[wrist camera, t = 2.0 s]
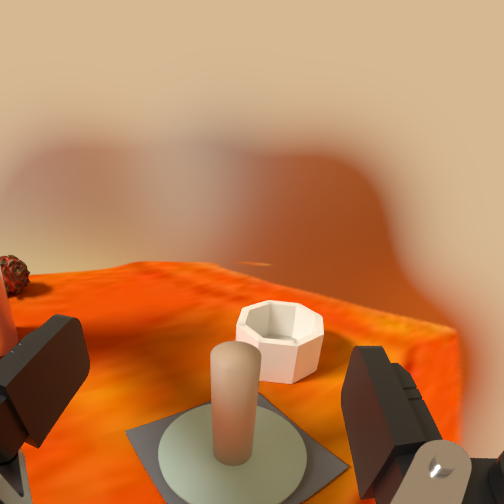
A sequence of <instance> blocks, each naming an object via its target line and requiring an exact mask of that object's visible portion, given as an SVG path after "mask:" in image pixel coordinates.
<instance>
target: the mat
mask: <svg viewBox="0 0 504 504" xmlns="http://www.w3.org/2000/svg"><path fill="white" fill-rule="evenodd" d="M208 404H211V401H209V402H207V403H204V404H202V405H199V406H196V407H194V408H197V407H200V406H203V405H208ZM257 406H260V407H263V408H265V409H268V410H270V411H272V412H274V413H276V414H278V415H280V416H281V417H283V418H284V419H286V420H287V421H288V422H289V423H290V424H291V425H292V426H293V427H294V428H295V429H296V430H297V431H298V433H299V434H300V436H301V438H302V439H303V442H304V444H305V448H306V452H307V463H306V469H305V472H304V475H303V477H302V480H301V482H300V484H299V486H298V487H297V489H296V490H295V491H294V493H293V494H292V495H291V496H290V497H289V498H288V499H286V500H285V501H284V502H282V503H281V504H301V503H303V502H304V501H306V500H307V499H308V498H310V497H311V496H313V495H314V494H315V493H317V492H318V491H319V490H321V489H322V488H323V487H325V486H326V485H327V484H329V483H330V482H331V481H332V480H334V479H335V478H336V477H338V476H339V475H340V474H341V473H342V472H344V471H345V470H346V469H347V468H348V465H346V464H345V463H344V462H342V461H341V460H340V459H338V458H337V457H336V456H334V455H333V454H332V453H331V452H329V451H328V450H327V449H325V448H324V447H323V446H322V445H320V444H319V443H318V442H316V441H315V440H314V439H313V438H311V437H310V436H309V435H308V434H306V433H305V432H304V431H303V430H302V429H300V428H299V427H298V426H297V425H296V424H294V423H293V422H292V421H291V420H290V419H288V418H287V417H286V416H285V415H284V414H282V413H281V412H280V411H279V410H278V409H277V408H275V407H274V406H273V405H272V404H271V403H270V402H269V401H267V400H266V399H265V398H264V397H263V396H262V395H261V394H260V393H258V399H257ZM194 408H191V409H188V410H186V411H183V412H180V413H178V414H175V415H172V416H169V417H166V418H163V419H161V420H158V421H155V422H152V423H149V424H146V425H142V426H139V427H136V428H133V429H130V430H127V431H125V432H126V434H127V436H128V438H129V440H130V442H131V444H132V446H133V448H134V449H135V451H136V453H137V455H138V457H139V459H140V460H141V462H142V464H143V466H144V467H145V469H146V471H147V472H148V474H149V476H150V477H151V479H152V481H153V482H154V484H155V486H156V487H157V489H158V490H159V492H160V494H161V495H162V497H163V498H164V500H165V501H166V503H167V504H187V503H186V502H184V501H183V500H182V499H180V498H179V497H178V496H177V495H176V494H175V493H174V492H173V491H172V490H171V488H170V487H169V486H168V485H167V483H166V481H165V479H164V477H163V474H162V472H161V469H160V465H159V459H158V449H159V443H160V441H161V438H162V436H163V434H164V432H165V430H166V429H167V428H168V427H169V425H170V424H171V423H172V422H173V421H174V420H175V419H177V418H178V417H180V416H181V415H182V414H184V413H186V412H188V411H190V410H192V409H194Z"/></svg>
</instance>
